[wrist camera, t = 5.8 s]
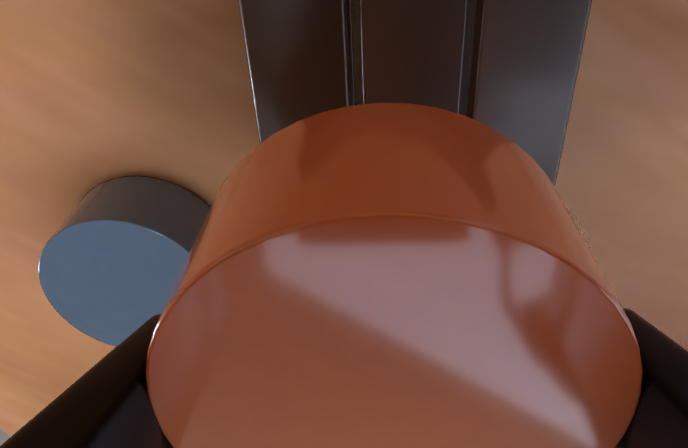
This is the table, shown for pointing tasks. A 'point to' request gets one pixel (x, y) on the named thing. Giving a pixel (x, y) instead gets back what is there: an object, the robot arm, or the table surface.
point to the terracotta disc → (391, 299)
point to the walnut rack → (422, 62)
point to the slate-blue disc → (120, 255)
